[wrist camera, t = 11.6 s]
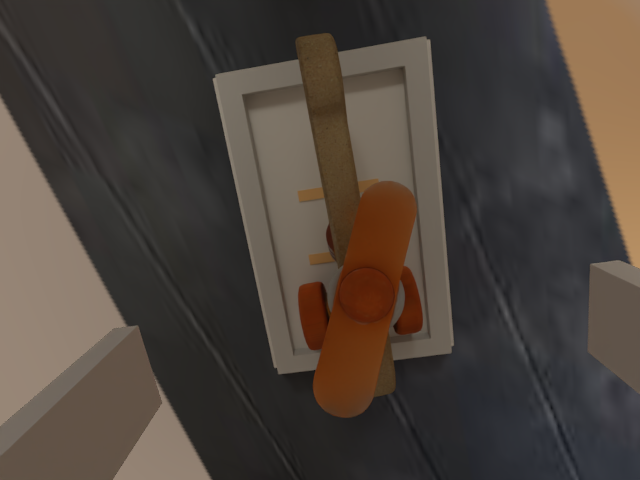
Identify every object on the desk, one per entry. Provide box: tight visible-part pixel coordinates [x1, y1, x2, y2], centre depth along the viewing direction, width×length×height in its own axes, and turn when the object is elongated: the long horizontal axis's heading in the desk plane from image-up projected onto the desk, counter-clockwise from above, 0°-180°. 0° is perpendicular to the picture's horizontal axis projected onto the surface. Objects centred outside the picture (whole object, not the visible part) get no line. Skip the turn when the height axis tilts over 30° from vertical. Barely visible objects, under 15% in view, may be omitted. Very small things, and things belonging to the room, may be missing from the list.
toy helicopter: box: [295, 33, 423, 418], centre depth 21 cm, size 8×21×14 cm, turn 11°
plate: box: [213, 36, 454, 374], centre depth 28 cm, size 23×15×3 cm, turn 9°
